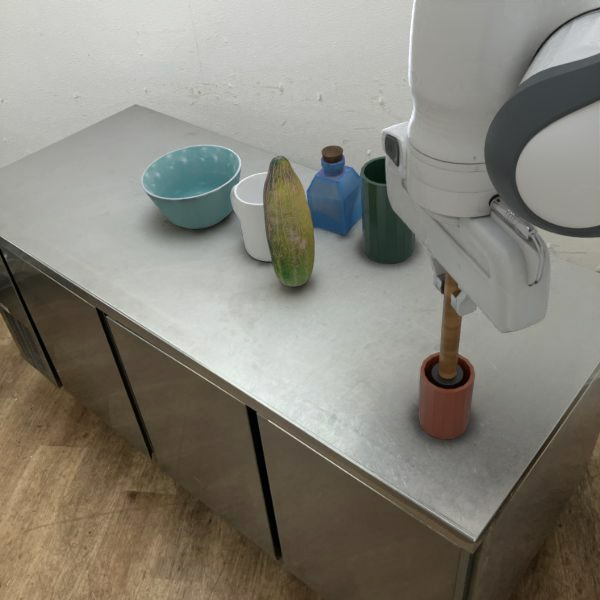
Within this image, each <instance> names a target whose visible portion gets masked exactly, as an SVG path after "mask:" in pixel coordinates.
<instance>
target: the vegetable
mask: <svg viewBox="0 0 600 600" xmlns="http://www.w3.org/2000/svg"><path fill="white" fill-rule="evenodd" d="M267 172H268V174H267V177H266V180H265V183H264V189H263V206H264V219H265V230H266V237H267V242H268V246H269V250H270V255H271V260H272V261H271V264H272V267H273V272H274V273H275V276H276V277H277V280H278V281H279V282H280V283H282V284H283V285H285V286H287V287H290V288H291V287H292V288H293V287H300V286H302V285H305V283H307V282H308V281H309V279H310V277H311V275H312V273H313V272H314V271H313V269H314V266H315V256H316V242H315V241H316V239H315V230H314V226H313V223H312V219H311V213H310V209H309V206H308V202H307V195H306V193H305V189H304V186H303V184H302V182H301V179H300V178H299V176H298V175H297V173H296V171H294V168H293V167H292V165H291V163H290V160H289V159H288V158H286V157H285V156H284V155H276V156H273V158H272V159H271V161H269V165H268V169H267Z"/></svg>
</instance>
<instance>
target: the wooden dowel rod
mask: <svg viewBox="0 0 600 600" xmlns="http://www.w3.org/2000/svg"><path fill="white" fill-rule="evenodd" d="M456 291H461V290H460V289H459V288H458V284H457V282H456V281H455V280H454V279H453V278H452V277H451V276H450V274H449V273H448V272H447V271H446V270H445V285H444V294H443V301H442V303H443V304H442V313H441V314H442V316H441V329H440V343H439V344H440V345H439V352H440V357H439V363H437V364H436V365H435V366H434V367H433V368H432V372H431V383H432V384H433V385H435V386H436V387H440V388H443V389H456V388H459V387H461V386H462V383H463V370H462V369H461V367H460V366H459V365H457V363H458V354H459V351H460V343H461V342H460V340H461V331H462V322H463V316H459V315H458V314H457V312H456V311H455V310H454V308H453V307H452V306H451V293H453V292H456Z"/></svg>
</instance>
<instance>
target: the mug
mask: <svg viewBox="0 0 600 600" xmlns="http://www.w3.org/2000/svg"><path fill="white" fill-rule="evenodd" d="M267 174H268V171H266V172H265V171H264V172H258V173H254V174H251V175H249V176H246V177H245V178H243V179H241V180H239V183H238V184H237V185H235V186H234V187H233V188H232V190H231V193H230V199H231V204H232V207H233V209H232V211H233V212H234V214H235V216H237V218H238V220H239V223H240V228H241V233H242V234H241V235H242V239H243V244H244V247H245V250H246V252H247V254H248V255H249V256H250V257H252V258H253V259H255V260H258V261H262V262H272V260H271V255H270V250H269V246H268V242H267V237H266V230H265V219H264V206H263V189H264V183H265V180H266V177H267Z"/></svg>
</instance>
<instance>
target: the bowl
mask: <svg viewBox="0 0 600 600" xmlns="http://www.w3.org/2000/svg"><path fill="white" fill-rule="evenodd" d="M241 173H242V159H241V157H240V155H239V154H238V153H237V152H235V151H234V150H232V149H230V148H228V147H225V146H223V145H222V146H221V145H216V144H195V145H189V146H184V147H180V148H177V149H174V150H171V151H169V152H167V153H165V154H163V155H161V156H159V157H158V158H156V159H155V160H153V161H152V162H151V163H150V164H149V165H148V166H146V168H145V169H144V170H143V172H142V174H141V177H140V185H141V187H142V189H143V191H144V193H145V194H146V195H147V196H148V197H149V198H150V200H151V201H152V203H153V204H154V206H156V207H157V208H158V210H159V211H160V212H161V213H162V214H163V215H164V217H165V218H166V219H167V220H168V221H169V222H170V223H171V224H173V225H175V226H178V227H181V228H185V229H190V230H200V229H201V230H202V229H206V228H209V227H212V226H215V225H217V224H219V223H220V222H222V221H223V220H224V219H225V218H226V217H227V216H229V215H230V214H231V212H232V211H233V207H232V204H231V199H230V193H231V190H232V188H233V187H234V186H235V185H237V184H238V183H239V182H240V179H241Z"/></svg>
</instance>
